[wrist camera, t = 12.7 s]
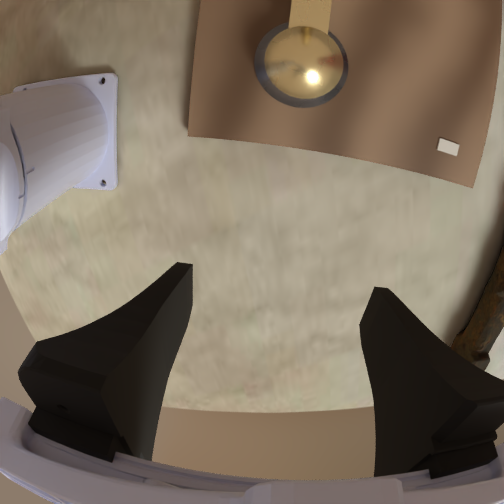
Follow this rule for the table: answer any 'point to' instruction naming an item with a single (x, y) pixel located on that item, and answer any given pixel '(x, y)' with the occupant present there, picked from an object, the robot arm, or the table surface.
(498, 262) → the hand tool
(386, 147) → the board
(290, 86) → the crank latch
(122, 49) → the table surface
